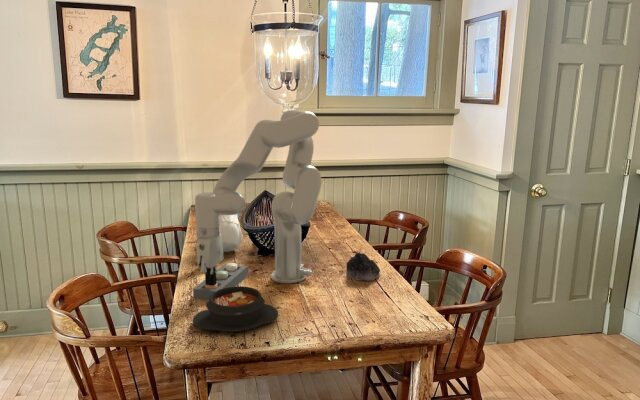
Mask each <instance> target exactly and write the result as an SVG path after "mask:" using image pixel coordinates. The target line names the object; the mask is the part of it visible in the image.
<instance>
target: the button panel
mask: <svg viewBox="0 0 640 400" xmlns="http://www.w3.org/2000/svg"><path fill="white" fill-rule="evenodd" d="M226 264H227V263H224V264H223V265H222V266H220V267H219V268H217V271H216V272H218V271H226ZM248 268H249V266H248V265H241V264H240V265H239V264H237V271H236V272H231V271H227V272H228V279H226V280H219V279H216V282H217V284H218V287H217V288H216V289H208V288H205V284H206V283H205V279H204V280H202V281H201V282H200V283H199V284H198V285H196V286H195V287H194V288H193V289H192V292H193V299H194V300H198V301H199V300H201V301H206V302H208V300H209V298H210V296H211V295H212V294H213V293H214V292H216V291H218V290H220V289H223V288H227V287H236V286H239V284H241V282H242V281H244V280H245V279H246V278H247V277H248V276H249V269H248ZM216 272H215V273H216Z"/></svg>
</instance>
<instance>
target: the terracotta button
mask: <svg viewBox="0 0 640 400" xmlns="http://www.w3.org/2000/svg"><path fill="white" fill-rule="evenodd" d="M217 287H218V284H217V283H216V284H215V285H214V286H212V285H206V284H205V288H208V289H216V288H217Z"/></svg>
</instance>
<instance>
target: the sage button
mask: <svg viewBox="0 0 640 400" xmlns="http://www.w3.org/2000/svg"><path fill="white" fill-rule="evenodd" d="M216 279H219V280H226V279H228V272H227V271H218V272H216Z"/></svg>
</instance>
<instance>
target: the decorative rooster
mask: <svg viewBox="0 0 640 400" xmlns="http://www.w3.org/2000/svg"><path fill="white" fill-rule="evenodd" d="M220 234H221V238H222V245H223V253H229V252H230V253H231V252H233V251H234V250H237V249H238V248H239V247H240V246H241V245H242V242H243V232H242V229H241V225H240V222H239V217H238V216H237V214H235V215H220Z"/></svg>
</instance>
